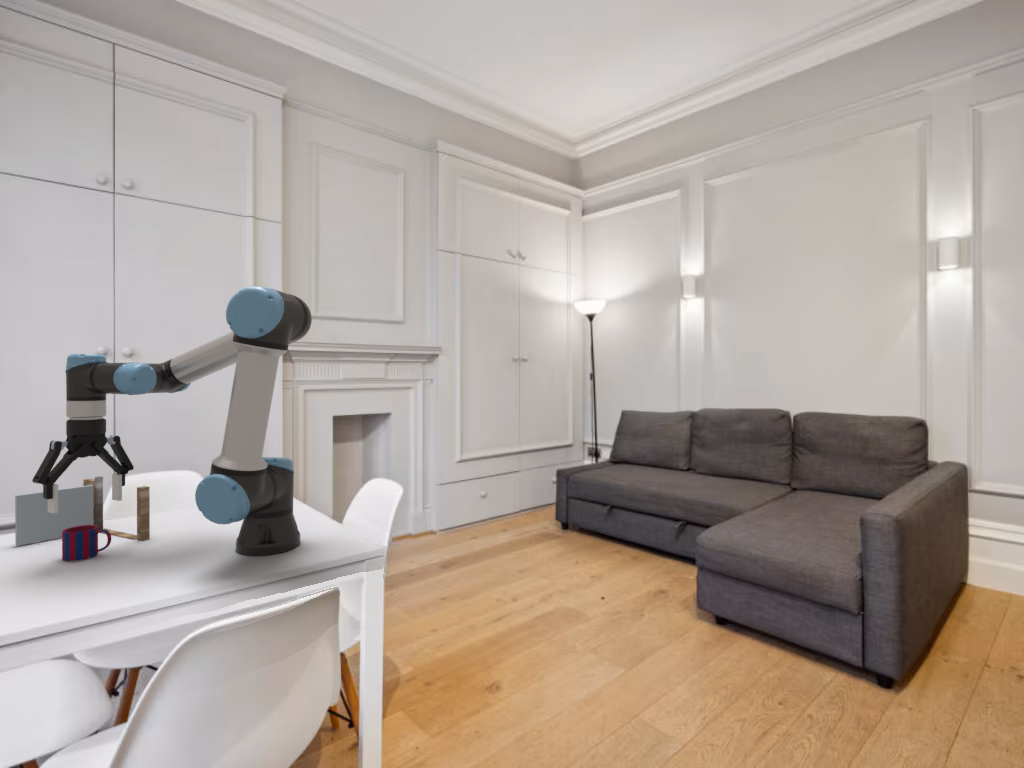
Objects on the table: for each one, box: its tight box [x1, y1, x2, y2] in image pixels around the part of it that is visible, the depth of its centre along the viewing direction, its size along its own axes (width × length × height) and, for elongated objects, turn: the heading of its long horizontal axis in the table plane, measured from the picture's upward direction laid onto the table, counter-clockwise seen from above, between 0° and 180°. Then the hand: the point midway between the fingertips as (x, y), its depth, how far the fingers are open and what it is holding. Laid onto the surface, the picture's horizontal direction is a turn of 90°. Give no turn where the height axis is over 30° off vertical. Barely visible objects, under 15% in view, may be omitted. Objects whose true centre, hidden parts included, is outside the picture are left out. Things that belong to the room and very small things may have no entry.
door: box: [14, 485, 93, 547], centre depth 142 cm, size 16×3×13 cm, turn 146°
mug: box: [61, 525, 112, 562], centre depth 128 cm, size 7×10×7 cm
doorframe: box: [82, 476, 151, 542], centre depth 147 cm, size 26×2×15 cm, turn 66°
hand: (86, 506), depth 128 cm, fingers open, 13 cm apart
